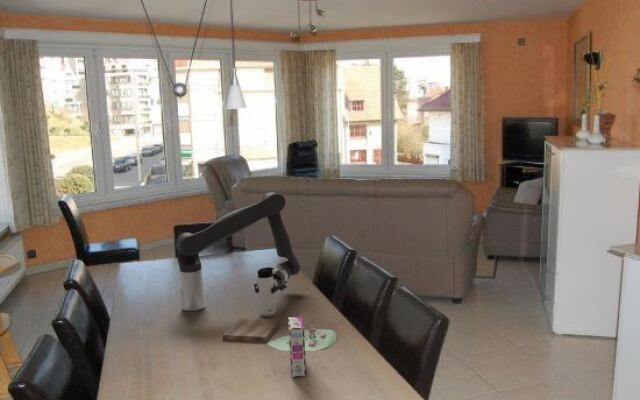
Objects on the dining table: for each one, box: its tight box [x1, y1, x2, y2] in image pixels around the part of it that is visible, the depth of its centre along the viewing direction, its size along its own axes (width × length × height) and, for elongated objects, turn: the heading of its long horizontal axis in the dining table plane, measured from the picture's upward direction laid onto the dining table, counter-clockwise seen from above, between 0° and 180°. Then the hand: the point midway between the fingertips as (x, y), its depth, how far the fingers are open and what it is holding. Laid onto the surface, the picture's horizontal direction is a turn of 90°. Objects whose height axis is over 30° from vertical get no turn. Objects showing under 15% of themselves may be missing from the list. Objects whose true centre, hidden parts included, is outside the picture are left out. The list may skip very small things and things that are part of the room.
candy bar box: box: [287, 315, 307, 379], centre depth 191 cm, size 11×5×16 cm, turn 5°
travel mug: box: [257, 266, 276, 318], centre depth 243 cm, size 6×7×20 cm
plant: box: [267, 317, 338, 352], centre depth 215 cm, size 25×21×9 cm
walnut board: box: [222, 318, 281, 343], centre depth 226 cm, size 17×17×2 cm
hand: (264, 290), depth 241 cm, fingers closed on travel mug, 6 cm apart
